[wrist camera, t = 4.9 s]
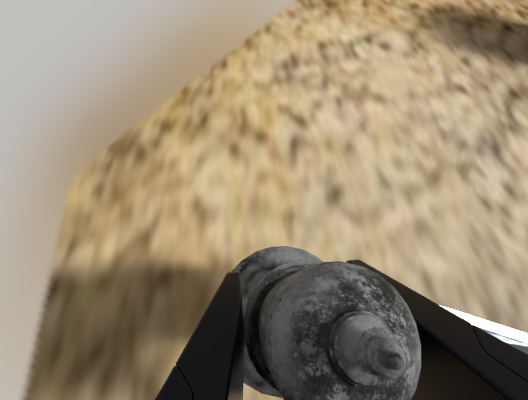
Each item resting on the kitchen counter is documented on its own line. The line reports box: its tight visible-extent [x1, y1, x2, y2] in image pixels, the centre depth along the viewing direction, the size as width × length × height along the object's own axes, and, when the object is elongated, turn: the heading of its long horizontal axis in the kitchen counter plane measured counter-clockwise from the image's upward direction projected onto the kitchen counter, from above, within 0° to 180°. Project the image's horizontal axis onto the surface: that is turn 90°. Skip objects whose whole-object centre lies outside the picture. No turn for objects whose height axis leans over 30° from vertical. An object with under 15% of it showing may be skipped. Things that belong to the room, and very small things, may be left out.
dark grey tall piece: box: [232, 246, 421, 400], centre depth 9 cm, size 6×6×12 cm
